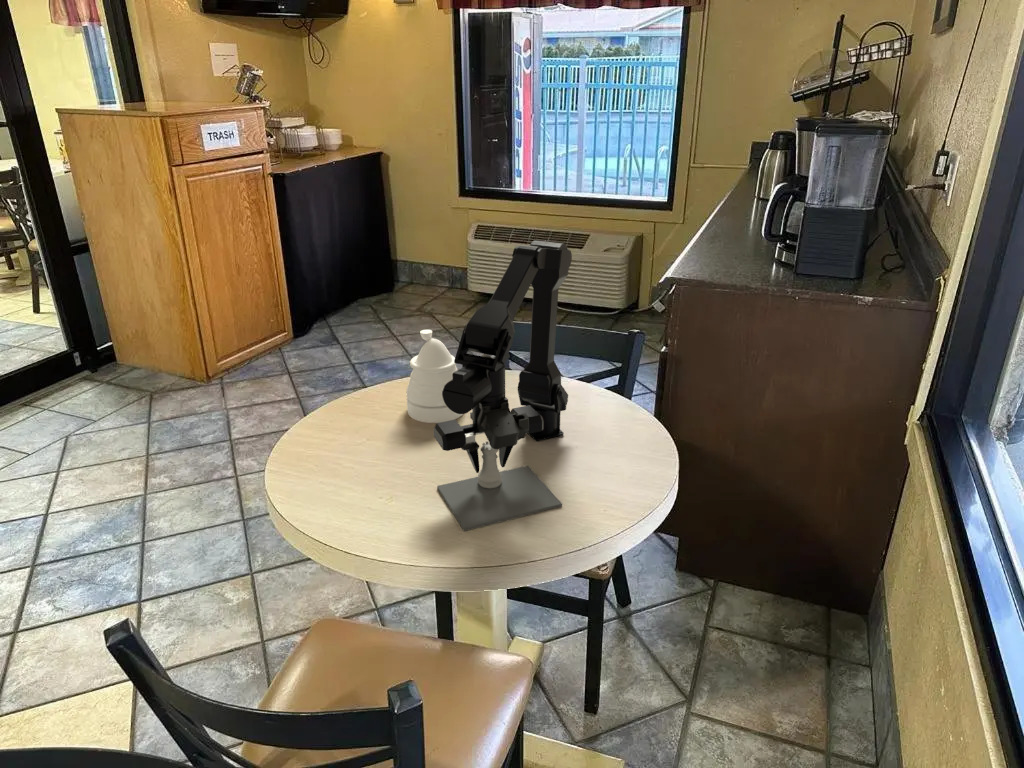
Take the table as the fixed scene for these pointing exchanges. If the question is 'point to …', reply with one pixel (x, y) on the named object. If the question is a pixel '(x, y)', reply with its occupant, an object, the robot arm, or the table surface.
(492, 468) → the rook chess piece
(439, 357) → the honey pot
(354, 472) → the table surface
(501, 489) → the rubber mat
